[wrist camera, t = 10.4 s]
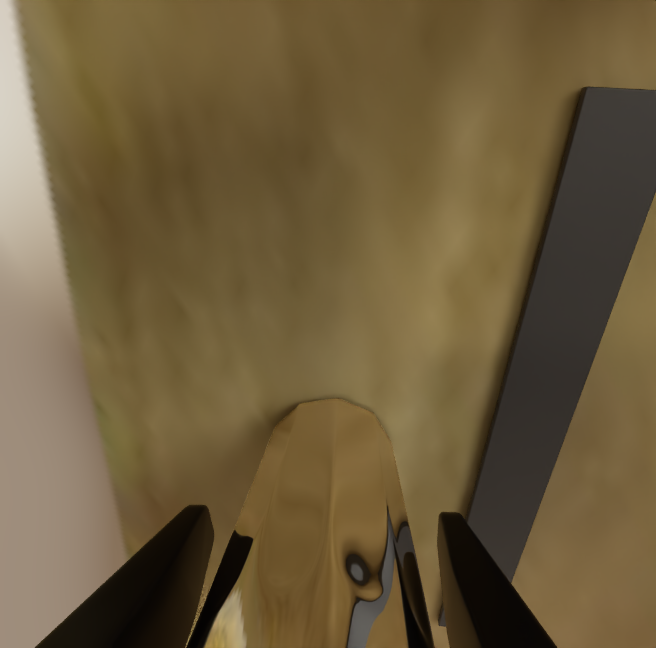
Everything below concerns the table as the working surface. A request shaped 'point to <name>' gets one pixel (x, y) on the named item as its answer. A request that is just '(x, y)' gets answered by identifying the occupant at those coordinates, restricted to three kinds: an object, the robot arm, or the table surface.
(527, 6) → the table surface
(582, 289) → the tape line
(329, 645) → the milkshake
